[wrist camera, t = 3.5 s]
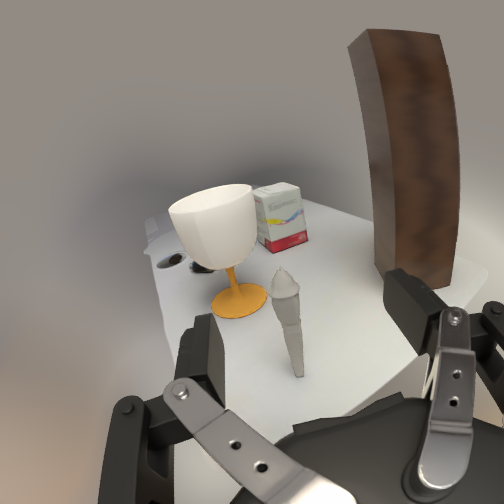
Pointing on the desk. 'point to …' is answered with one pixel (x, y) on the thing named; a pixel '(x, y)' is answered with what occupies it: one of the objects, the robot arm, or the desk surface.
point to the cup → (221, 241)
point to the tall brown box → (410, 151)
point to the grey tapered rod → (289, 316)
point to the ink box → (279, 216)
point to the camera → (199, 267)
